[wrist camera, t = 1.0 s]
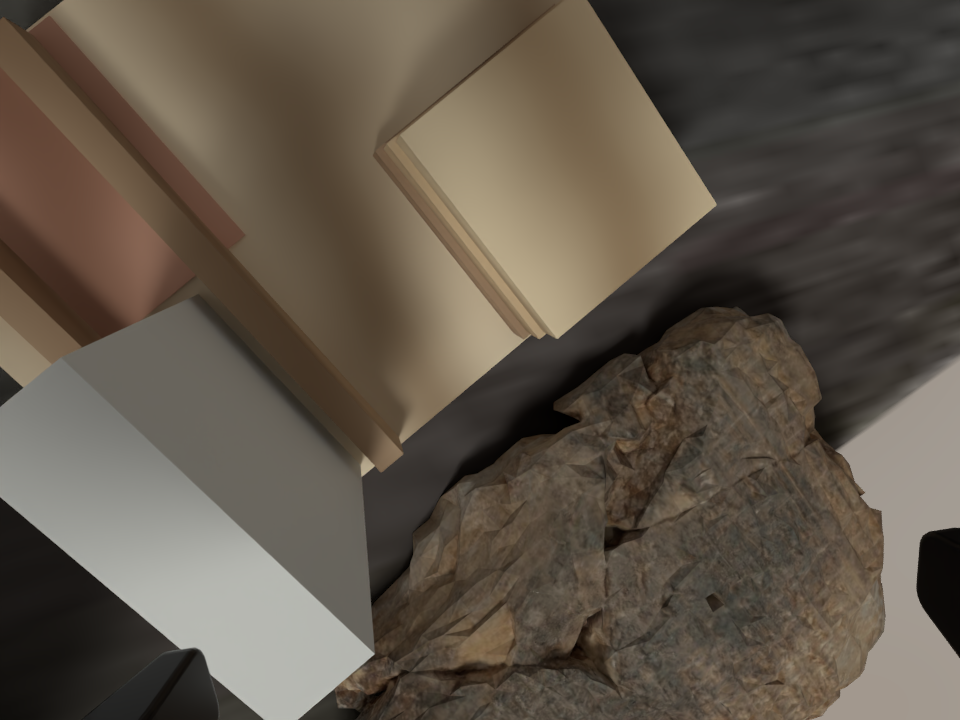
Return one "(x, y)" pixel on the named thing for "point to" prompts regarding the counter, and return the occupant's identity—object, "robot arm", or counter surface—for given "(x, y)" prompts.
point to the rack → (245, 193)
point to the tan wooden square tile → (441, 230)
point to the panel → (201, 502)
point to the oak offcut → (455, 227)
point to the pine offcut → (559, 167)
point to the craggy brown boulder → (644, 554)
